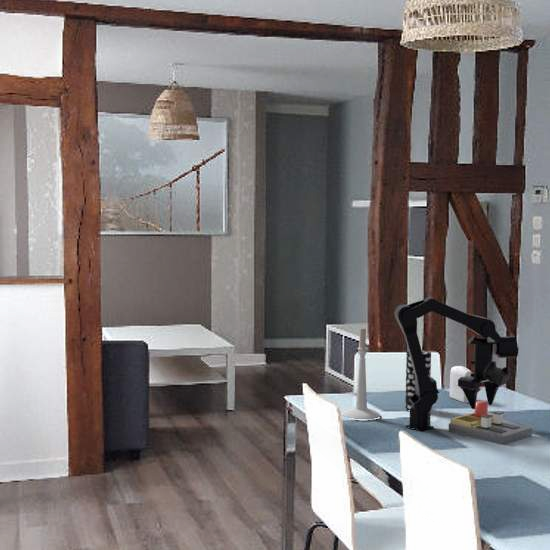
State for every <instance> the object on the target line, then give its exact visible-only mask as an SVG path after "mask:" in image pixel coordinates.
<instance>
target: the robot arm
mask: <svg viewBox="0 0 550 550" xmlns="http://www.w3.org/2000/svg"><path fill="white" fill-rule="evenodd" d="M431 312H434V313H436V314H438V315H440V316H442V317H445V318H448V319H450V320H452V321H454V322H456V323H458V324H461V325H463V326H465V327H466V328H467V329H469V330H471V331H472V332H474V333H475V334H477V335H479V336H480V337H477V336H476V335H472V336H471V337H470V338H469V339H468V340H467V343H469V344H471V345H474V346H473V360H472V359H471V361H470V364H471V365H473V372H472V373H471V377H468V376H466V377H461V378H459V379H458V386H459V387H460V388H461V389H462V390H463V392H464V393H465V395H466V397H467V399H468V402H469V403H468V404H469V406H470V408H471V410H475V407H476V401H478V400H477V399H478V393H479V392H480V391H481V390H482V388H480V387H481V386H482V384H484V389H485V393H486V394H485V395H486V399H487V402H488V406H493V403H494V401H495V398H496V395H497V393H498V390H499V389H500V387H502V386H504V385H507V383H508V380H509V379H511V378H512V369H511V368H510V367H509V366H505V367H497V363H496V360H493V358H494V357H493V356H494V355H495V356H496V357H497V358H498V359H517V358H518V356H519V345H518V342H517V337H516V336H514V335H509V336H501V335H500V334H499V333H498V331H497V329H496V324H495V322H494V321H493V320H491V319H489V318H487V317H484V316H480V315H475V314H471V313H467V312H464V311H462V310H459V309H457V308H454V307H452V306H450V305H447V304H445V303H442V302H441V301H438V300H437V299H436V298H434V297H430V296H428V297H426V298H424V299H422V300H421V299H420V300H418V301H415V302H411V303H409V304H405V303H404V304H400V305H397V307H396V308H395V310H394V313H393V314H394V318H395V320H396V323H397V324H398V326H399V328H400V330H401V332H402V333H403V336H404V339H405V343H406V347H407V351H409V355H410V359H411V363H412V366H413V370H414V374H415V392H416V393H415V394H414V395H412V396H411V397H410V398H409V403H410V405H411V406H412V407H411V409H410V412H409V424H406V425H405V427H406V426H407V427H410V428H409V429H411V428H414V429H413V430H415V429H417V430H416V431H419V430H420V432H422V431H427V430H431V429H433V428H435V427H434V425H431V410H432V408H433V405H435V404H436V403H437V401H438V400H439V394H440V391H439V389H438V385H437V380H436V379H434V378H433V377H432V376H431V378H429V376H428V373H427V369H426V365H425V361H424V358H423V354H422V351H423V350H422V348H421V342H420V339H419V336H418V319H419V318H422V317H423V316H425V315H427V314H429V313H431ZM487 338H489V339H490V340H487ZM407 427H406V428H407Z"/></svg>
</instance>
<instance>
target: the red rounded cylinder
mask: <svg viewBox="0 0 550 550" xmlns="http://www.w3.org/2000/svg"><path fill="white" fill-rule="evenodd" d="M488 407H489V404H488V401H483V400H476V407H475V409H474V413H475V415H474V417H478V418H481V415H485V414H487V415H488V414H489V413H488V409H489V408H488Z"/></svg>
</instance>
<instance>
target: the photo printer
mask: <svg viewBox="0 0 550 550" xmlns="http://www.w3.org/2000/svg"><path fill="white" fill-rule="evenodd" d="M471 373H473V372H472V371H471V370H470V369H468V368H467V367H465V366H462V365H455V366H452V367H451V369H450V373H449V397H450V398H451V399H453V400H456V401H459V402H461V403H463V404H469V402H468V399H467V397H466V395H465V393H464V392H463V390H462V389H461V388H460V387H459V386H458V379H459V378H461V377H466V376H468V377H471Z"/></svg>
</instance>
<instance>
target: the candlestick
mask: <svg viewBox="0 0 550 550" xmlns="http://www.w3.org/2000/svg"><path fill="white" fill-rule="evenodd" d="M366 339H367V328H366V327H360V328H359V347H357V348H356V349H357V350H358V355H359V358H358V360H359V361H358V375H357V376H358V377H357V389H356V401H355V402H356V403H355V407H352V408H349V409H346V410H345V411H343V412H342V414H341V417H342V416H344V417H347V418H354V419H374V418H378V417H380V416H382V415H381V414H380V413H379V412H378V411H377V410H374V409H372V408H369V407H368V406H367V405H368V404H367V403H368V401H367V377H366V376H367V374H366V358H365V357H366V354H367V350H368V349H369V348H368V347H366V345H367V343H366V341H367V340H366Z"/></svg>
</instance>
